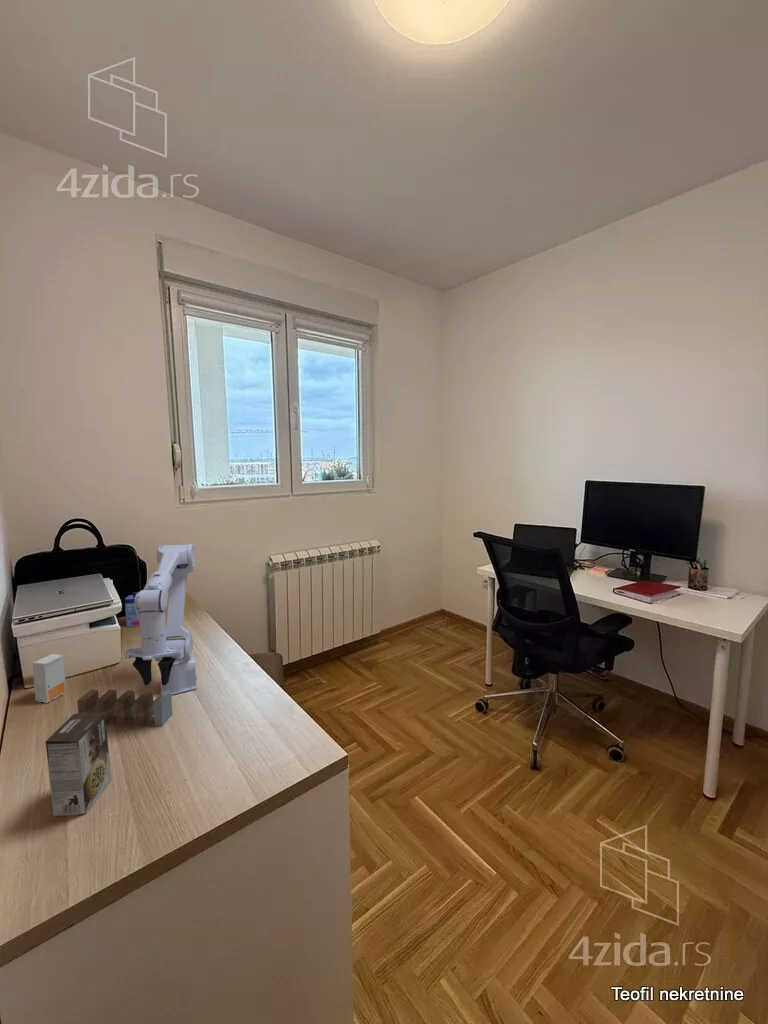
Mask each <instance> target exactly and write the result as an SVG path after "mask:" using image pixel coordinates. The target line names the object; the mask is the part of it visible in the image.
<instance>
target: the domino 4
mask: <svg viewBox="0 0 768 1024" xmlns="http://www.w3.org/2000/svg"><path fill="white" fill-rule="evenodd" d="M153 701H154V690H152V689H150V690H144V691H143V692H142V693H141V694H140V695H139V696H138V697H137V698H135V701H134V703H135V716H134V717H135V726H136V727H144V726H145V725H147V723H148V722H149V721H150V720H151V719H152V717H154V703H153Z"/></svg>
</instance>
